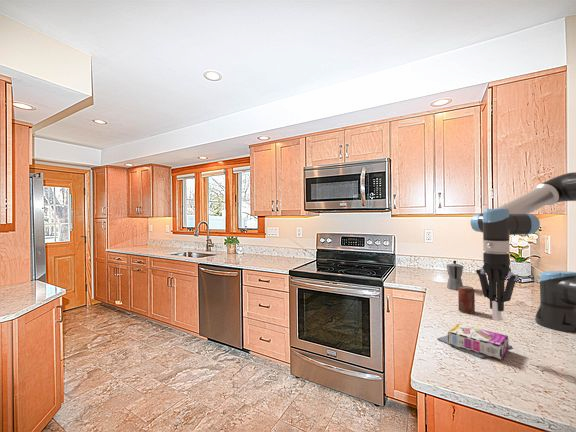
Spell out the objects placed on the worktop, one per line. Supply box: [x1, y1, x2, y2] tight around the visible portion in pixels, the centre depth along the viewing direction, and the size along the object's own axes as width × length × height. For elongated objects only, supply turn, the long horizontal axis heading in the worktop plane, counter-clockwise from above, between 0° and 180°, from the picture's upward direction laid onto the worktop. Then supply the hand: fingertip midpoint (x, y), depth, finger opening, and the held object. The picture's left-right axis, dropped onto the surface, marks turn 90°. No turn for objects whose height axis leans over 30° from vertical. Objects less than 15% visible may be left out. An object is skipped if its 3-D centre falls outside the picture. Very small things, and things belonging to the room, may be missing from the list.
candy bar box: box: [447, 323, 509, 360], centre depth 104 cm, size 11×5×16 cm
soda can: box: [457, 285, 476, 315], centre depth 143 cm, size 7×7×12 cm
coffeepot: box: [446, 260, 464, 291], centre depth 185 cm, size 15×9×18 cm, turn 153°
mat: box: [436, 334, 513, 359], centre depth 108 cm, size 18×16×1 cm
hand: (496, 319), depth 102 cm, fingers closed
